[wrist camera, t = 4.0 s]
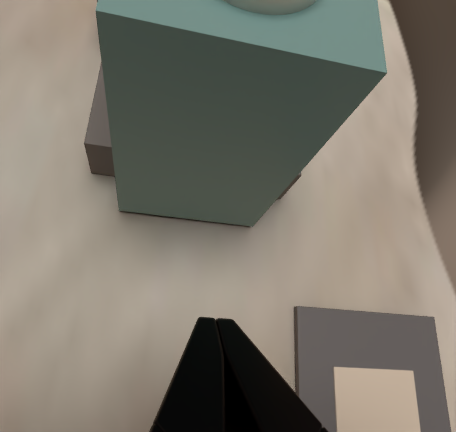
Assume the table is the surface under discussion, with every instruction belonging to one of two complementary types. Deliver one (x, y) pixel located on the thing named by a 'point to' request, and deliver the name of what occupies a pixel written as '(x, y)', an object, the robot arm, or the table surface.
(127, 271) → the table surface
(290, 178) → the teal tall block
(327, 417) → the card
